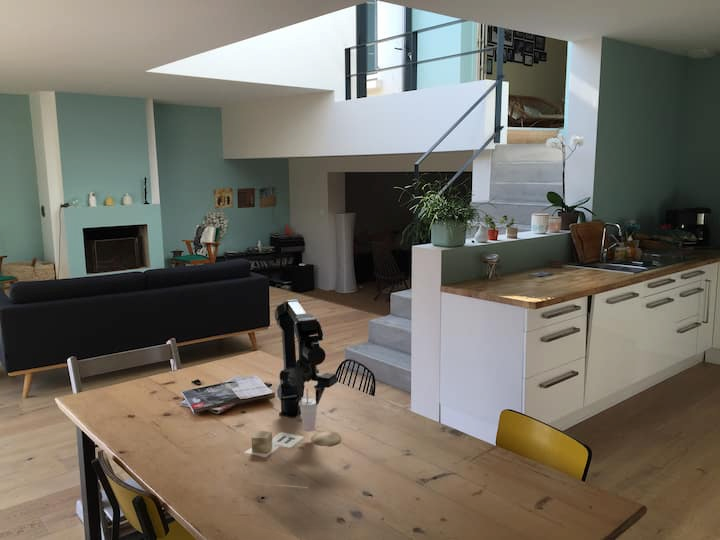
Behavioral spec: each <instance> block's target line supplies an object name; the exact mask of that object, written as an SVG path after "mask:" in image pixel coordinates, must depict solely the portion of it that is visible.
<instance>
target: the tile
mask: <svg viewBox="0 0 720 540" xmlns="http://www.w3.org/2000/svg"><path fill="white" fill-rule="evenodd" d="M278 448H280V446H278V445H274V444H272V448H271V449H270V450H269V452H268V453H267V454H266V453H252V446H251V447H250V448H249V449H247V450H246V451H245V452H244V454H249V455H253V456H254V455H255V456H257V457H258V456H259V457H263V458H267V457H268V456H270V455H271V454H272V453H274V452H275V451H276V450H278Z"/></svg>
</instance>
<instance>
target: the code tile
mask: <svg viewBox="0 0 720 540" xmlns="http://www.w3.org/2000/svg"><path fill="white" fill-rule="evenodd" d="M304 438H305V436H302V435H298V434H293V433H287V432H283V431H280V432H279V433H277V435H275V436H274V437H272V445H275V446H279V447H284V448H288V449H291V448H292V447H293V446H294V445H296V444H297V443H298V442H299V441H301V440H302V439H304Z"/></svg>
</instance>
